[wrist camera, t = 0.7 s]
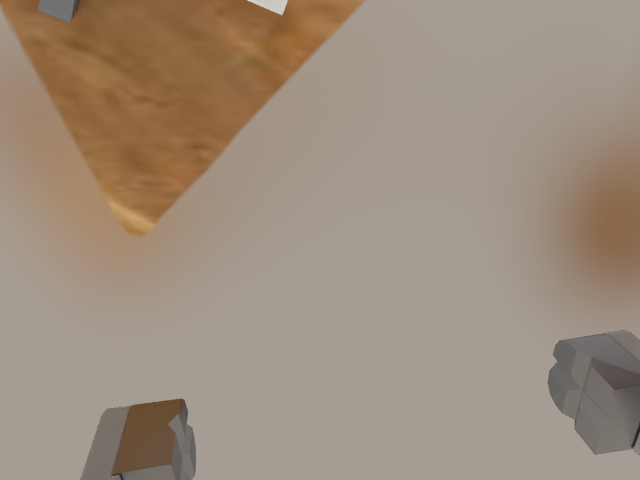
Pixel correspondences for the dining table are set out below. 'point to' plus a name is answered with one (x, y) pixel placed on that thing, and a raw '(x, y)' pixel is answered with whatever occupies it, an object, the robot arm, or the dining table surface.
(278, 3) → the offwhite block
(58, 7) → the charcoal board
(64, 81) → the dining table surface
